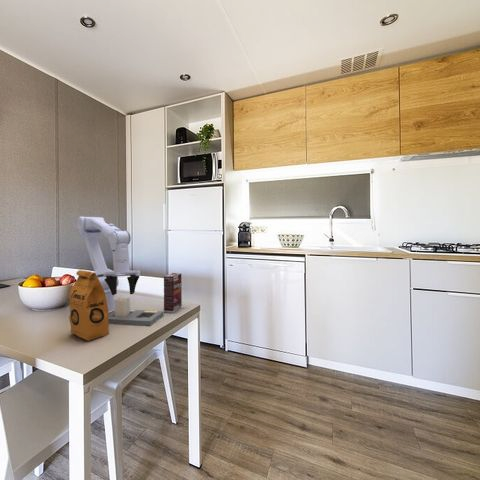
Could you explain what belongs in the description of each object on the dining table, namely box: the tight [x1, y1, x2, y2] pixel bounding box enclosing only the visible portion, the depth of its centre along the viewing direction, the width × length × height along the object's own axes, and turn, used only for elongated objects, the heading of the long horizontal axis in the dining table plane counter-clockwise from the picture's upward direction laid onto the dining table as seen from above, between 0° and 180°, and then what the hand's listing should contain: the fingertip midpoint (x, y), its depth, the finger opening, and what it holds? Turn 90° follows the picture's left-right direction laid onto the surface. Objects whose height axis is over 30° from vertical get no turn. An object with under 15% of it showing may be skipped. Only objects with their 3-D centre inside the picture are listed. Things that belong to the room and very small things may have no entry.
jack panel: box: [108, 309, 165, 327], centre depth 97 cm, size 20×11×2 cm, turn 82°
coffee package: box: [68, 269, 110, 342], centre depth 83 cm, size 10×12×22 cm
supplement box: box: [163, 272, 183, 314], centre depth 108 cm, size 9×5×16 cm, turn 168°
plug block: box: [114, 297, 131, 317], centre depth 98 cm, size 4×4×8 cm
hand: (123, 294), depth 97 cm, fingers open, 7 cm apart
